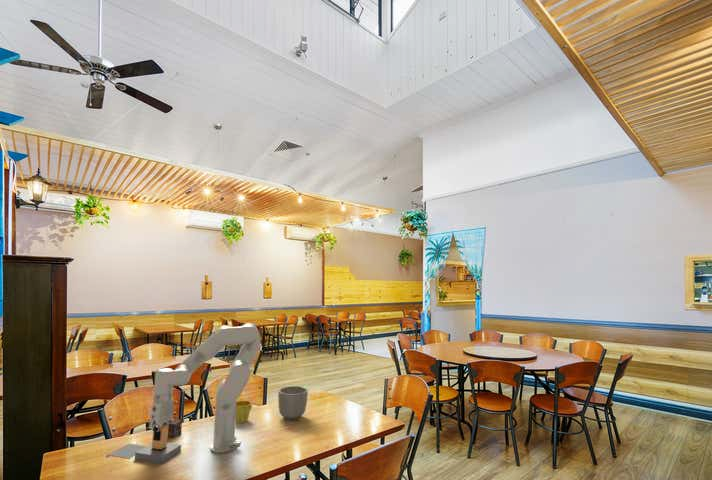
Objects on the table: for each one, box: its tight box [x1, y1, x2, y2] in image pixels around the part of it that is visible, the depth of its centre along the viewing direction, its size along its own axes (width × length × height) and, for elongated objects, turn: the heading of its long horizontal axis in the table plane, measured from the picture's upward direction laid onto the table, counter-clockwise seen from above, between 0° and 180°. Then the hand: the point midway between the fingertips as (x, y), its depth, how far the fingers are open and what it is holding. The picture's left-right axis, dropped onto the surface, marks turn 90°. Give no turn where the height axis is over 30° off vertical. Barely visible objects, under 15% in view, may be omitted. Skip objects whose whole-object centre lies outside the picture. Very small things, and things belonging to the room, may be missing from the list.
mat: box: [106, 443, 147, 459], centre depth 170 cm, size 12×12×1 cm
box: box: [167, 418, 183, 439], centre depth 188 cm, size 6×6×7 cm
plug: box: [151, 425, 169, 449], centre depth 167 cm, size 5×4×9 cm
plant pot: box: [235, 400, 253, 424], centre depth 210 cm, size 10×10×10 cm
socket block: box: [134, 442, 182, 465], centre depth 166 cm, size 14×12×4 cm
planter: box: [277, 385, 309, 422], centre depth 216 cm, size 17×17×16 cm
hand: (160, 437), depth 167 cm, fingers closed on plug, 3 cm apart
